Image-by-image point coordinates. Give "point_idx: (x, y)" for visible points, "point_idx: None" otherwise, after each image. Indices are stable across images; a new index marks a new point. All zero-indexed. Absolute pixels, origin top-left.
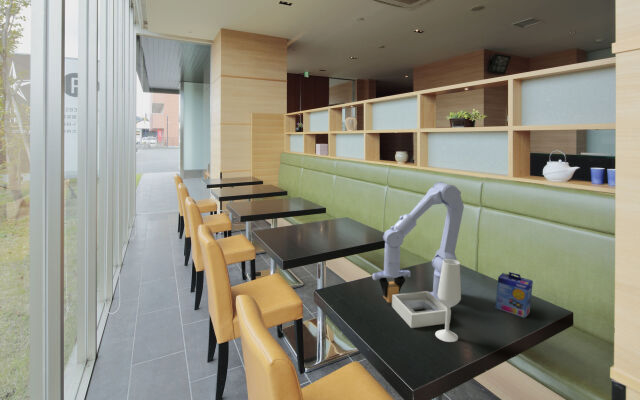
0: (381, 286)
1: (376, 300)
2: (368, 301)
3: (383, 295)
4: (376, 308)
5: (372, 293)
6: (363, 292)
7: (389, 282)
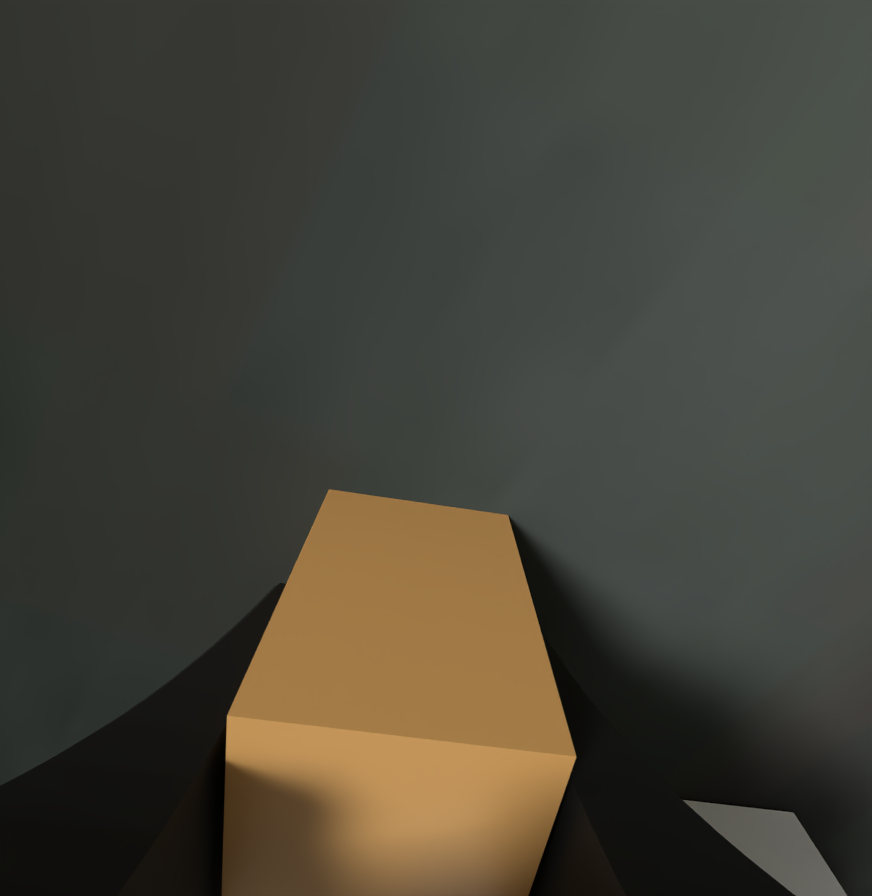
0: (156, 701)
1: (160, 555)
2: (15, 539)
3: (321, 512)
4: (76, 733)
5: (190, 292)
6: (9, 166)
7: (405, 777)
